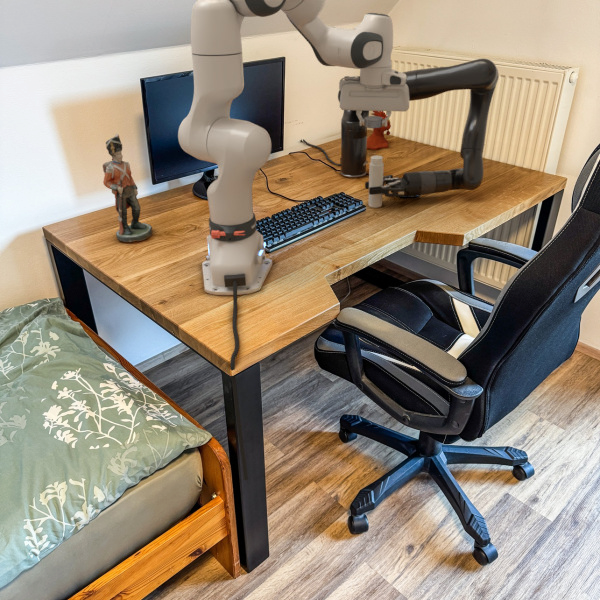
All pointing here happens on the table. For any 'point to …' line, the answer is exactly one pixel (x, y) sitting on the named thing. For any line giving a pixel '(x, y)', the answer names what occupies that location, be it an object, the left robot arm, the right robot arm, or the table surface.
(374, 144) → the toy
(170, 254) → the table surface
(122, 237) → the figurine
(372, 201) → the white cylinder
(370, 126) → the lid
